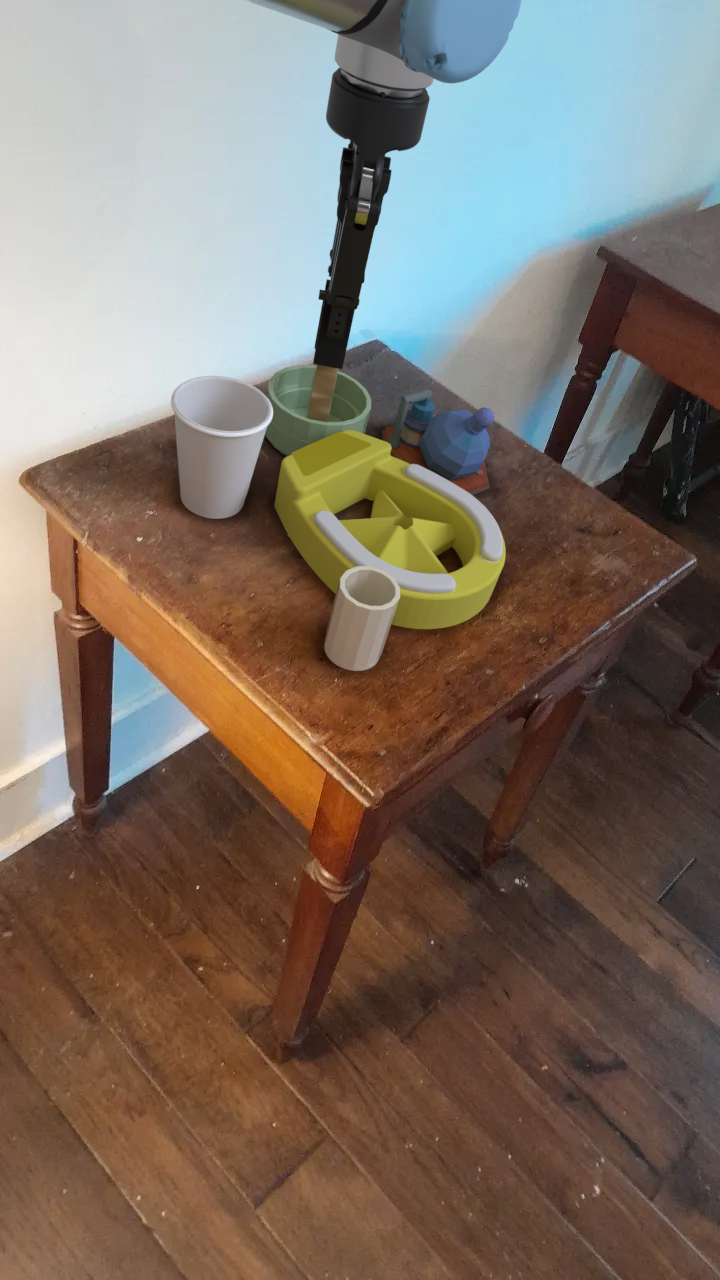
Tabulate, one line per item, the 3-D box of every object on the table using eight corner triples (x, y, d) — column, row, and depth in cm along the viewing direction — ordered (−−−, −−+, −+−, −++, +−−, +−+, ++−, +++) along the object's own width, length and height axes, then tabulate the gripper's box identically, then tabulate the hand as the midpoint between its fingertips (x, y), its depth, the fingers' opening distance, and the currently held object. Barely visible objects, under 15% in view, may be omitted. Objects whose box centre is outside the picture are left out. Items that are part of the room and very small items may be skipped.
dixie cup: (268, 483, 88) (283, 390, 81) (245, 539, 82) (259, 444, 75) (181, 459, 88) (188, 364, 80) (152, 513, 82) (157, 416, 75)
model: (505, 484, 95) (535, 406, 89) (437, 508, 90) (464, 427, 84) (429, 418, 101) (453, 340, 94) (362, 437, 96) (382, 356, 89)
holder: (322, 667, 74) (339, 604, 69) (324, 624, 77) (340, 561, 72) (380, 675, 74) (400, 613, 69) (380, 632, 77) (399, 570, 72)
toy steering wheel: (365, 457, 94) (375, 414, 90) (528, 577, 86) (547, 536, 82) (241, 517, 84) (247, 472, 80) (413, 658, 76) (429, 616, 73)
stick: (304, 432, 92) (333, 277, 81) (305, 420, 94) (334, 266, 82) (324, 435, 93) (356, 282, 81) (325, 424, 94) (356, 271, 83)
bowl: (257, 458, 90) (264, 413, 86) (265, 400, 97) (272, 356, 93) (360, 475, 91) (371, 432, 88) (361, 417, 98) (371, 375, 95)
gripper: (436, 124, 66) (367, 409, 83) (427, 59, 76) (368, 324, 93) (330, 101, 65) (282, 394, 82) (336, 37, 75) (293, 309, 92)
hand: (328, 356), depth 88 cm, fingers closed on stick, 2 cm apart
